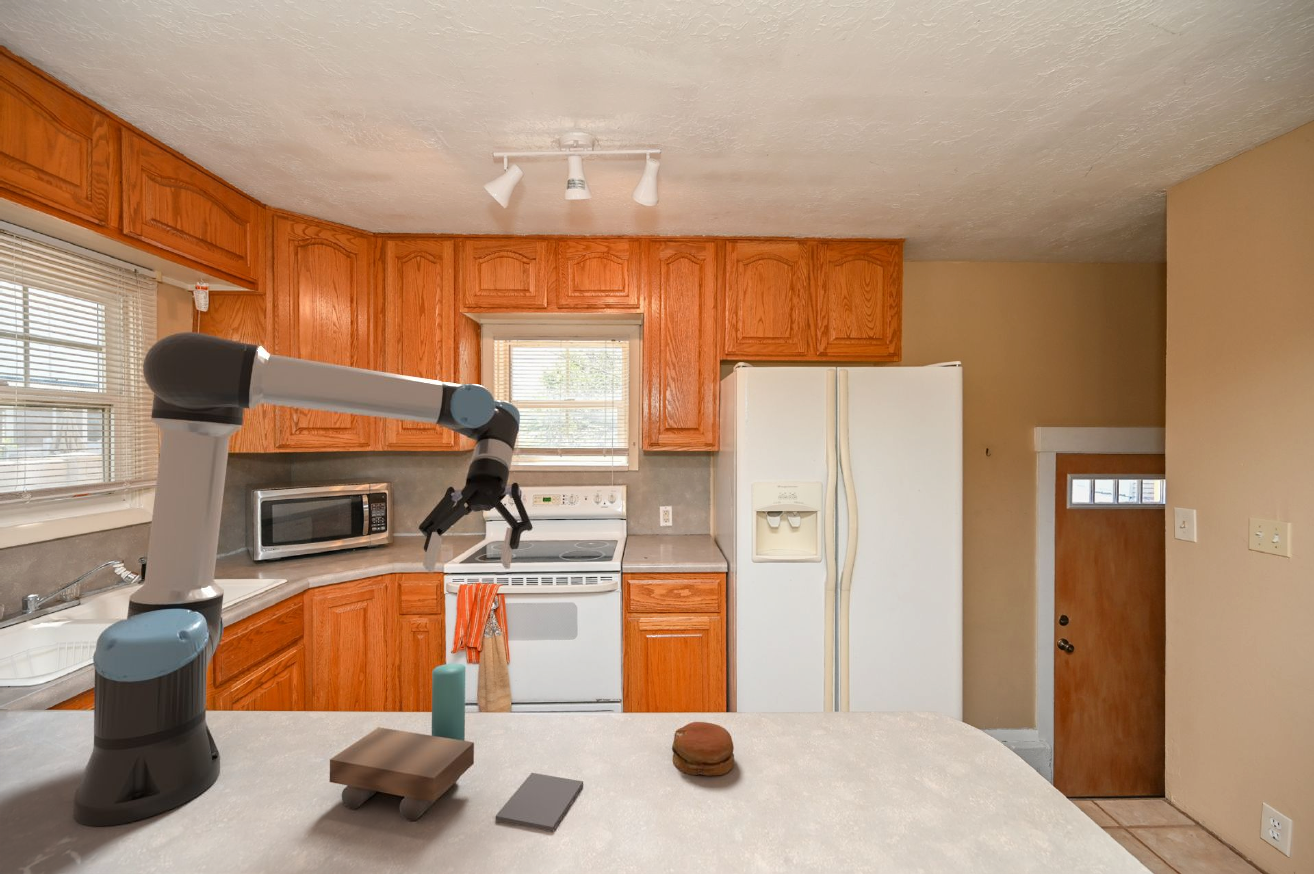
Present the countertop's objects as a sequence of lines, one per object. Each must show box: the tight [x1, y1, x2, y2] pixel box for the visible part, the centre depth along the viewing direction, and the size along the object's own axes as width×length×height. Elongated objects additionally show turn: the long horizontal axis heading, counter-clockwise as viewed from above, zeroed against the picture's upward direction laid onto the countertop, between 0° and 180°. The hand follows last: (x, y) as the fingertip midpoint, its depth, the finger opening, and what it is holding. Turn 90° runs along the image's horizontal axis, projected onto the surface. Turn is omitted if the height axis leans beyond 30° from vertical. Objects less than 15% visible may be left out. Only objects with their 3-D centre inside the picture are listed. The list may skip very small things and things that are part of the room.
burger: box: [671, 721, 735, 777], centre depth 88 cm, size 10×9×5 cm
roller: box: [431, 663, 466, 741], centre depth 92 cm, size 5×5×12 cm
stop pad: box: [494, 772, 584, 833], centre depth 77 cm, size 8×10×1 cm
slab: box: [329, 726, 475, 822], centre depth 79 cm, size 16×9×6 cm, turn 75°
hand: (466, 567), depth 98 cm, fingers open, 13 cm apart
